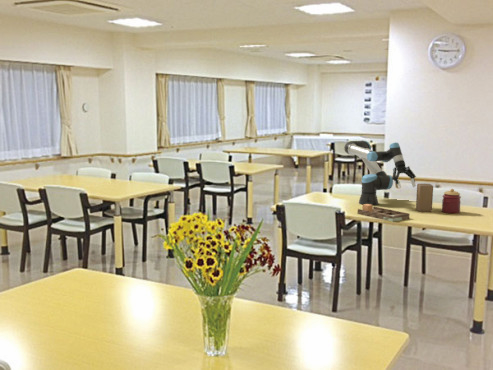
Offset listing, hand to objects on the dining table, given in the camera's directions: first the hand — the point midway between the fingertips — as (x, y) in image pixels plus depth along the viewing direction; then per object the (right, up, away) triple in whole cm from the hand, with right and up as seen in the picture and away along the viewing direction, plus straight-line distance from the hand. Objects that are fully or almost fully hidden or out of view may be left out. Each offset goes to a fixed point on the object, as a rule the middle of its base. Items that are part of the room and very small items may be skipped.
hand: (407, 187), depth 404 cm
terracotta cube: (-34, -18, -18) cm, 42 cm away
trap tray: (-25, -21, -24) cm, 40 cm away
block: (+12, -18, -3) cm, 21 cm away
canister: (+30, -19, -8) cm, 36 cm away
